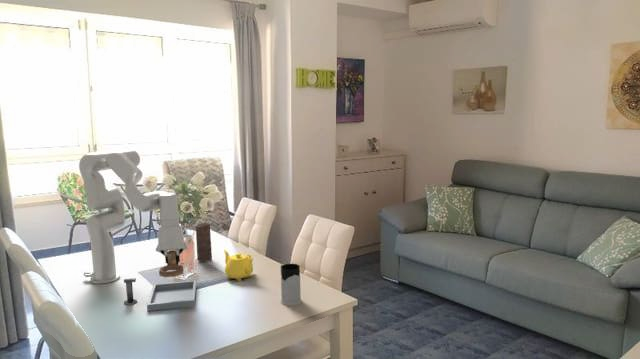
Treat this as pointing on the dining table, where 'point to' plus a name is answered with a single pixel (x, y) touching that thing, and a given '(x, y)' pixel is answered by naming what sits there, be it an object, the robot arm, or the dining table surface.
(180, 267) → the ring
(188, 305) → the tray
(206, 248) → the candle
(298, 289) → the glass holder
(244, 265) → the teapot
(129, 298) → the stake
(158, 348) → the dining table surface
